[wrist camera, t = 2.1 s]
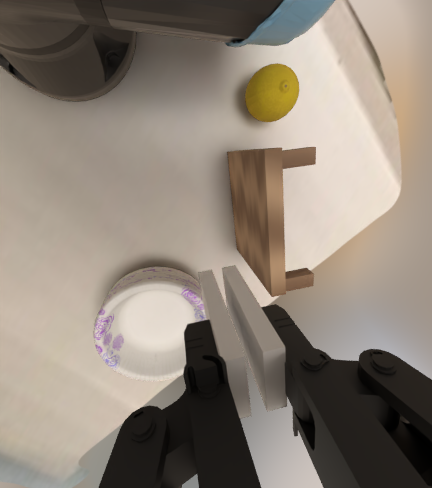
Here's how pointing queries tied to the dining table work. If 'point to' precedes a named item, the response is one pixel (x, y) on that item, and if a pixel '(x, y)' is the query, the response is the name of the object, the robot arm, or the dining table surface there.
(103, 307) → the paper bowls
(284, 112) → the lemon
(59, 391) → the dining table surface
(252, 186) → the footstool
